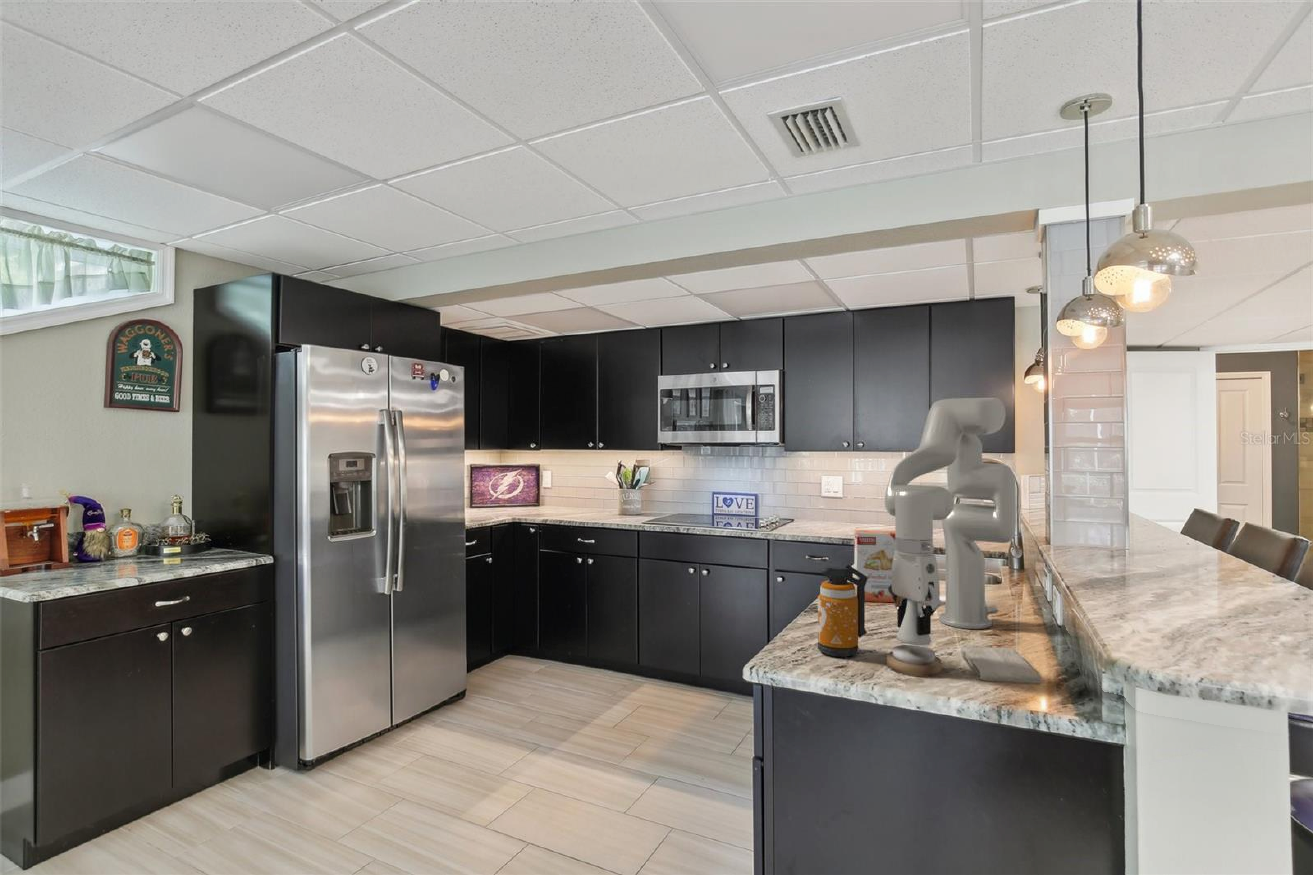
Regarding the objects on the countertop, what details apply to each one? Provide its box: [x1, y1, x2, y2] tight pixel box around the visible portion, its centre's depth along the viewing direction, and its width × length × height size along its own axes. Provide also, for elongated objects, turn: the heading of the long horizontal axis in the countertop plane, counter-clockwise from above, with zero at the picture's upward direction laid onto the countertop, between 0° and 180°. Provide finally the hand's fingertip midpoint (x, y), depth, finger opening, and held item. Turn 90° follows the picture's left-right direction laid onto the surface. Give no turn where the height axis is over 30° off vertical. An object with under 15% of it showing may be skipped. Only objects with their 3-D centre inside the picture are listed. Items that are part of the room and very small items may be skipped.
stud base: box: [886, 644, 942, 678], centre depth 145 cm, size 11×11×4 cm
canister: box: [817, 564, 868, 658], centre depth 155 cm, size 9×11×20 cm
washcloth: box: [960, 645, 1042, 685], centre depth 145 cm, size 12×18×3 cm, turn 169°
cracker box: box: [853, 529, 895, 603], centre depth 203 cm, size 14×6×21 cm, turn 81°
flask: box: [895, 599, 932, 646], centre depth 145 cm, size 7×7×10 cm
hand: (913, 629), depth 145 cm, fingers closed on flask, 5 cm apart
